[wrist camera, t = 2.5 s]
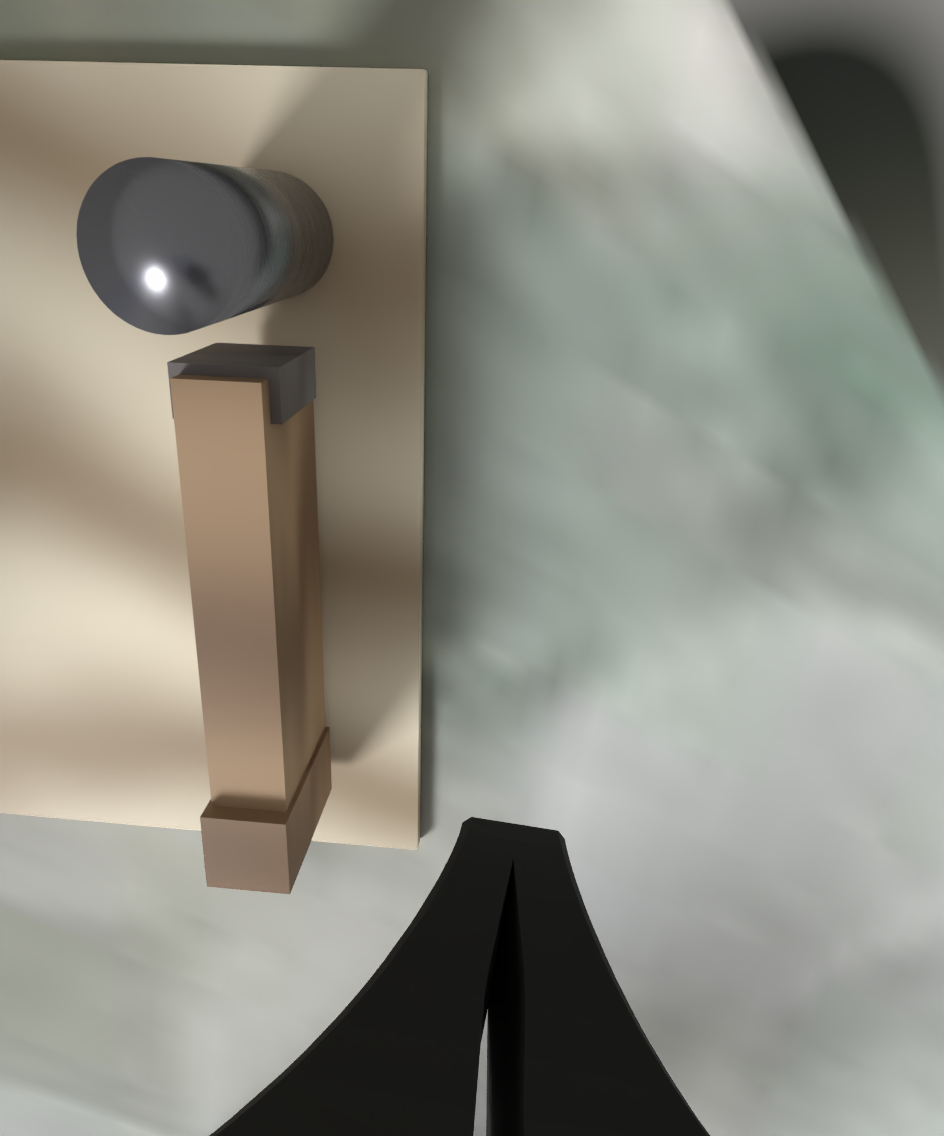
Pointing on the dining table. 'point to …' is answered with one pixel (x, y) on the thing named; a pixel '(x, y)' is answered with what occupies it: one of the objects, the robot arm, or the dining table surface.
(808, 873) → the dining table surface
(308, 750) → the tan wooden bar
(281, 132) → the board
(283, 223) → the hinge post
